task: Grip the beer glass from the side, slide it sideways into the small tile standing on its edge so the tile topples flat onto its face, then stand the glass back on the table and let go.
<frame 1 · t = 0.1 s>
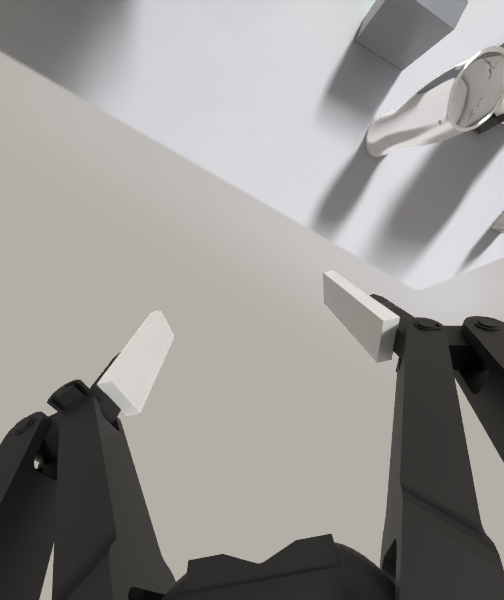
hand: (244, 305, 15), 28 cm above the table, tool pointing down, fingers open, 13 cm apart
tile: (383, 46, 28), on the table
beer glass: (381, 136, 33), on the table
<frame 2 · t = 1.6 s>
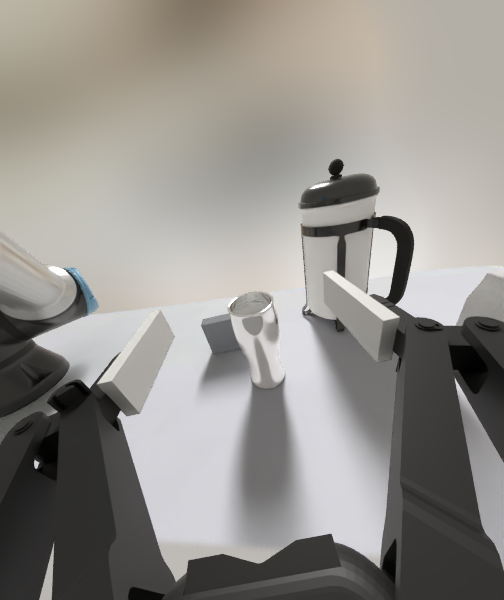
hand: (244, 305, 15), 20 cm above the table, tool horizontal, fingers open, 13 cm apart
tile: (233, 346, 41), on the table
beer glass: (268, 374, 33), on the table
coffee press: (340, 313, 44), on the table
printed carton: (487, 337, 31), on the table
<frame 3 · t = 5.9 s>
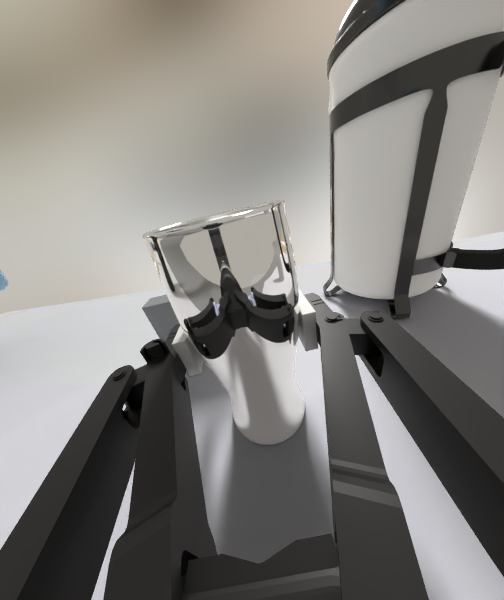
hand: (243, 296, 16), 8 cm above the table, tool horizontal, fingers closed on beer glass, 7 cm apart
tile: (209, 347, 24), on the table
beer glass: (268, 405, 16), on the table, touching gripper
coffee press: (389, 292, 26), on the table
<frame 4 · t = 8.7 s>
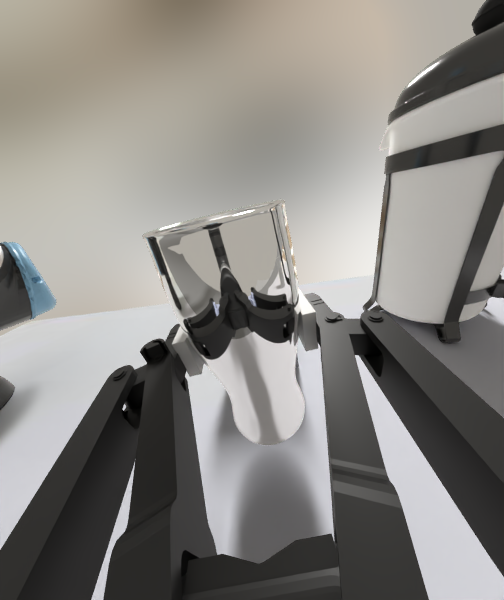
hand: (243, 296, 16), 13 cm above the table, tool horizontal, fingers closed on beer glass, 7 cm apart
beer glass: (268, 405, 16), point 5 cm above the table, touching gripper
coffee press: (429, 313, 28), on the table
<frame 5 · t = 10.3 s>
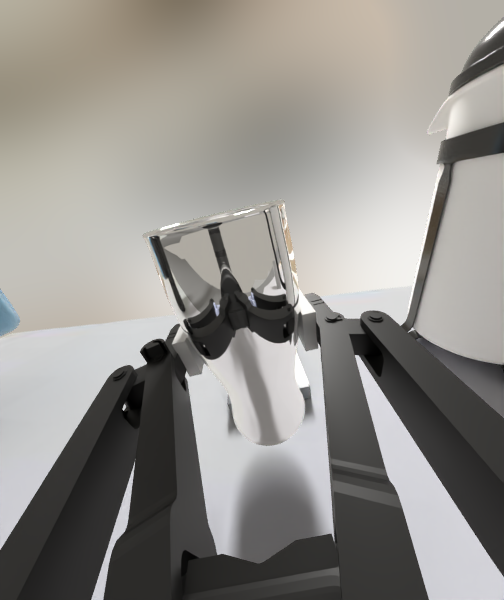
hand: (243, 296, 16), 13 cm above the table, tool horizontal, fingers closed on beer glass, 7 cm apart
tile: (270, 401, 20), point 1 cm above the table, tilted 90°
beer glass: (268, 406, 16), point 5 cm above the table, touching gripper
coffee press: (482, 344, 22), on the table
when the fingers open (9 cm above the table, at t = 11.9 s): beer glass drops 1 cm, on the table.
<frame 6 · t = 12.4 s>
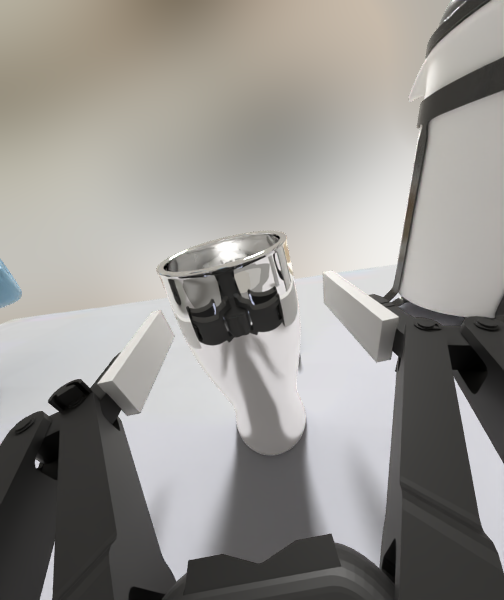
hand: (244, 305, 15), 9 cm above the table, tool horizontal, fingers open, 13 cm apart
beer glass: (270, 415, 17), on the table
coffee press: (465, 307, 23), on the table
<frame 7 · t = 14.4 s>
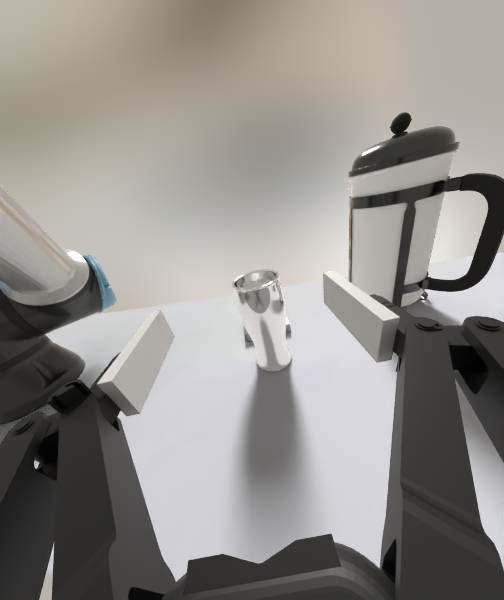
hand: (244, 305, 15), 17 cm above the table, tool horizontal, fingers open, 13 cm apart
beer glass: (273, 358, 32), on the table
coffee press: (389, 302, 38), on the table
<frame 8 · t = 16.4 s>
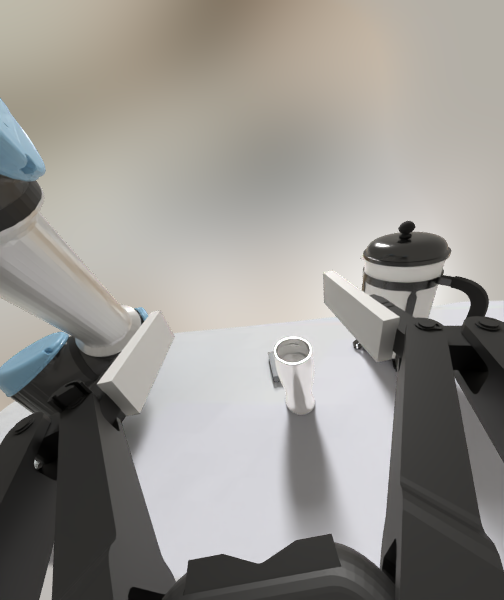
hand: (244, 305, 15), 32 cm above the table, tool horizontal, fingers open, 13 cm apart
tile: (292, 375, 44), point 1 cm above the table, tilted 90°
beer glass: (300, 401, 40), on the table
coffee press: (392, 349, 46), on the table
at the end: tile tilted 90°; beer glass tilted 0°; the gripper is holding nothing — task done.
